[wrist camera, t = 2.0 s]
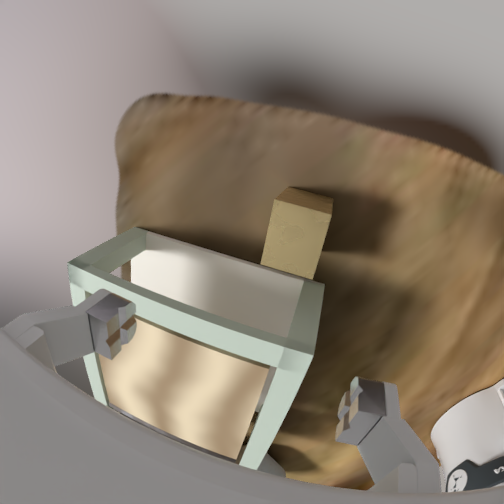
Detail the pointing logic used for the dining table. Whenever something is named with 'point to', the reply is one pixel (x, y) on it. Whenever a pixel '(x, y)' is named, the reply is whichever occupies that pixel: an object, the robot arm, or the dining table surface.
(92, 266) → the frame
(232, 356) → the trapdoor plate
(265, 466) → the ceramic mug
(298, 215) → the block
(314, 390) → the dining table surface
